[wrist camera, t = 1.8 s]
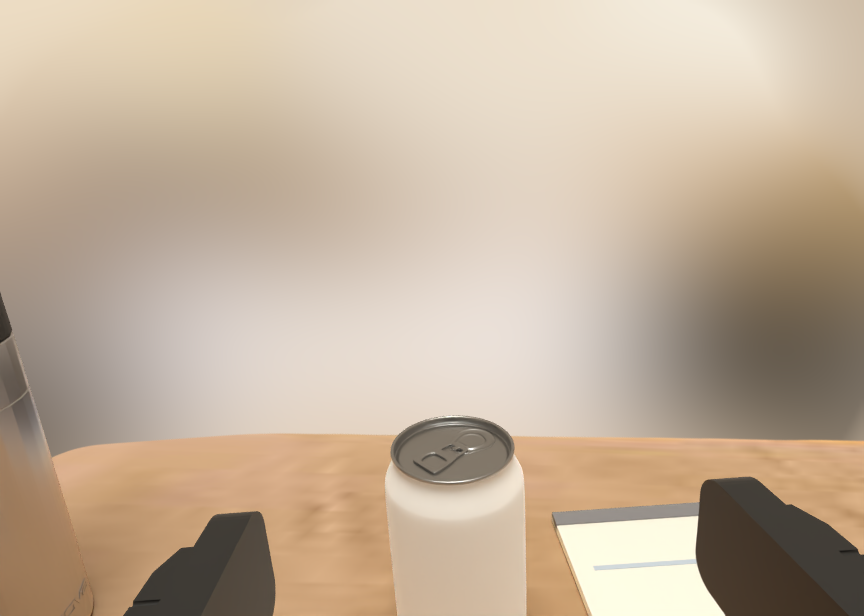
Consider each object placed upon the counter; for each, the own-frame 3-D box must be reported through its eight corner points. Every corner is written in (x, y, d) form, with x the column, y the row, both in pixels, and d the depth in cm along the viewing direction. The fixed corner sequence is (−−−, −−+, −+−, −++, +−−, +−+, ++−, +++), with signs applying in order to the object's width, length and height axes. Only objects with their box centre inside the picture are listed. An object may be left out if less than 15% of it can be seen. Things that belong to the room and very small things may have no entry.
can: (552, 650, 25) (553, 442, 21) (464, 751, 20) (449, 512, 17) (463, 578, 29) (453, 399, 26) (376, 649, 25) (352, 447, 22)
